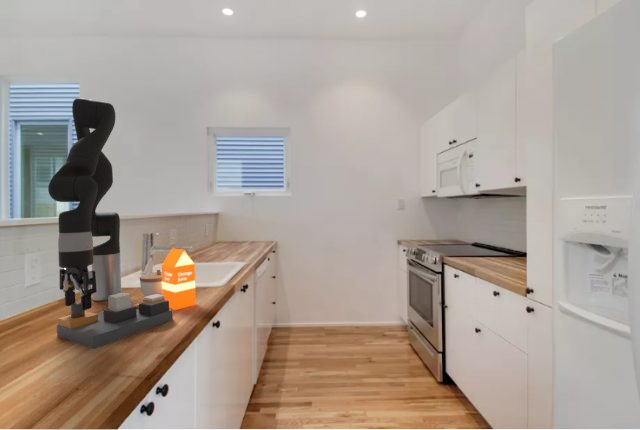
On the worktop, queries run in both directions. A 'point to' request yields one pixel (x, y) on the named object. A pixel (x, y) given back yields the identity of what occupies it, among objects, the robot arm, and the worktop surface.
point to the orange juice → (178, 279)
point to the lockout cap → (77, 317)
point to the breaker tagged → (153, 299)
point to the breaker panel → (117, 324)
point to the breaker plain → (119, 302)
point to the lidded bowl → (151, 283)
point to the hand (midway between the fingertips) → (78, 307)
